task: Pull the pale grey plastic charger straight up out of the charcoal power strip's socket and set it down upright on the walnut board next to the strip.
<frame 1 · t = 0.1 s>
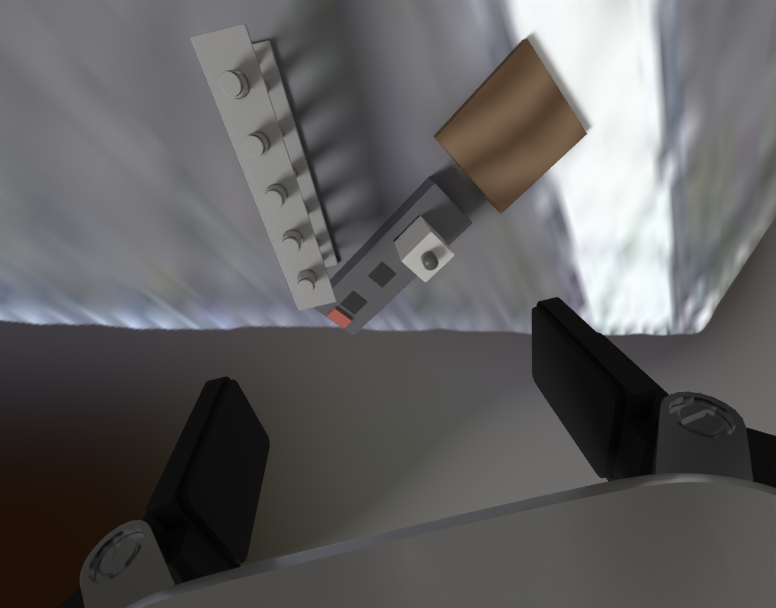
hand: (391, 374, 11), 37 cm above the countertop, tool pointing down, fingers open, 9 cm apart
test tube rack: (291, 172, 43), on the countertop
charger: (414, 232, 47), point 1 cm above the countertop, touching power strip
power strip: (387, 256, 49), on the countertop
walnut board: (508, 134, 43), on the countertop
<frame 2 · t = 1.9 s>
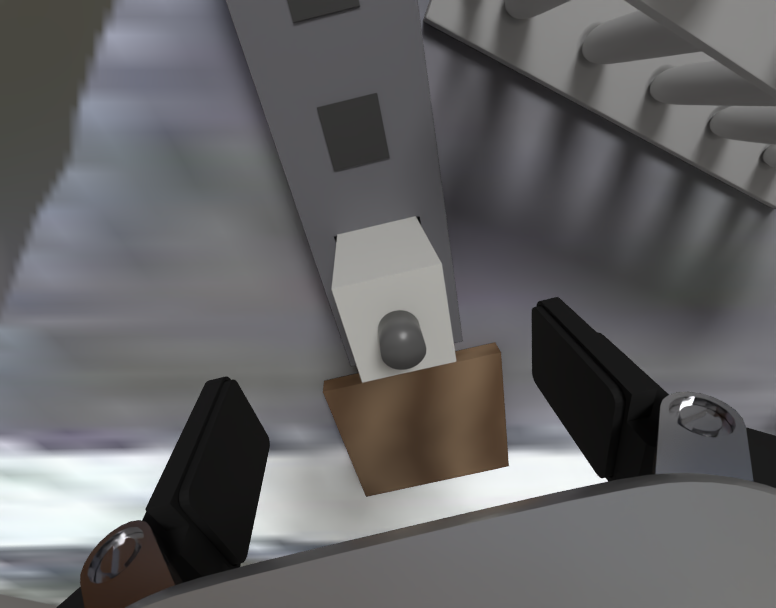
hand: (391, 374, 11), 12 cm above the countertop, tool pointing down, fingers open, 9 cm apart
test tube rack: (647, 86, 19), on the countertop
charger: (382, 249, 21), point 1 cm above the countertop, touching power strip
power strip: (361, 157, 20), on the countertop
walnut board: (423, 421, 30), on the countertop
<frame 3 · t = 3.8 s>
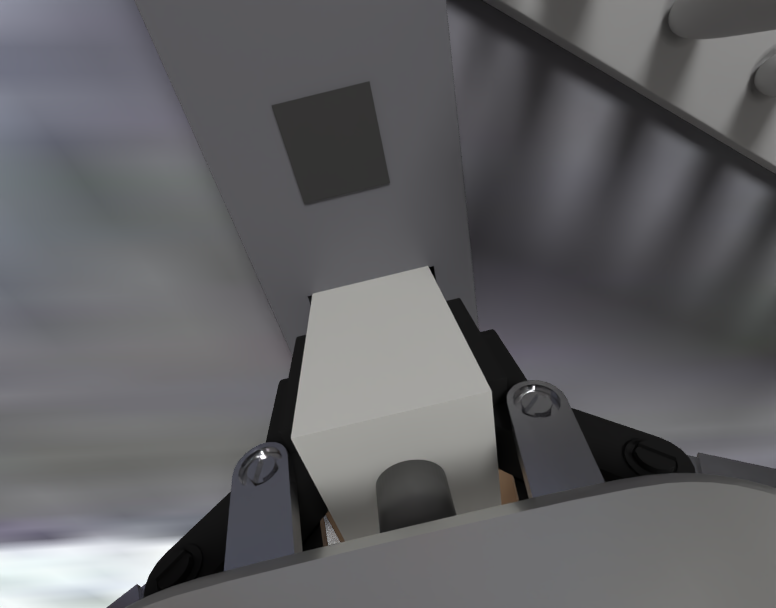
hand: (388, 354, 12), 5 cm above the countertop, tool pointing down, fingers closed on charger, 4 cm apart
test tube rack: (744, 75, 14), on the countertop
charger: (378, 300, 15), point 1 cm above the countertop, touching gripper, power strip
power strip: (347, 177, 14), on the countertop
walnut board: (429, 492, 24), on the countertop
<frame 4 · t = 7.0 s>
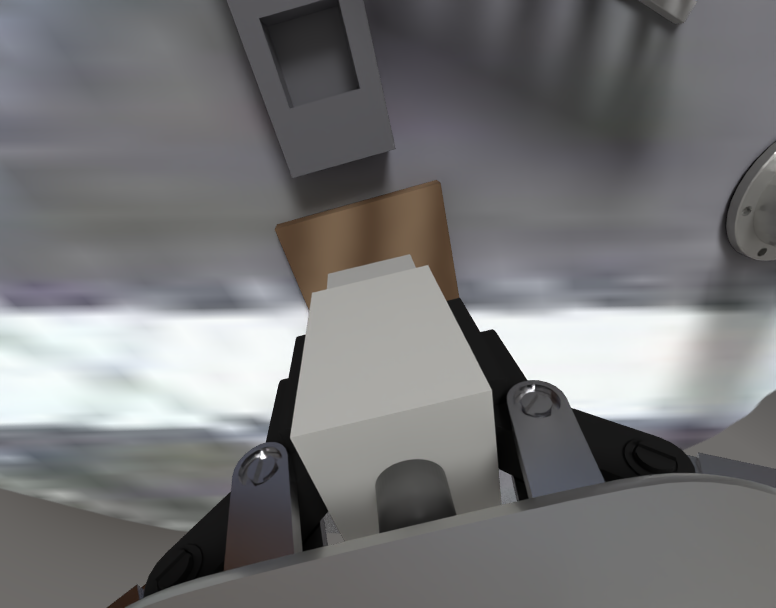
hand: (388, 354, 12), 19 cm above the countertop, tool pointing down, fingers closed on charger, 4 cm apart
charger: (378, 299, 15), point 15 cm above the countertop, touching gripper
walnut board: (377, 274, 32), on the countertop
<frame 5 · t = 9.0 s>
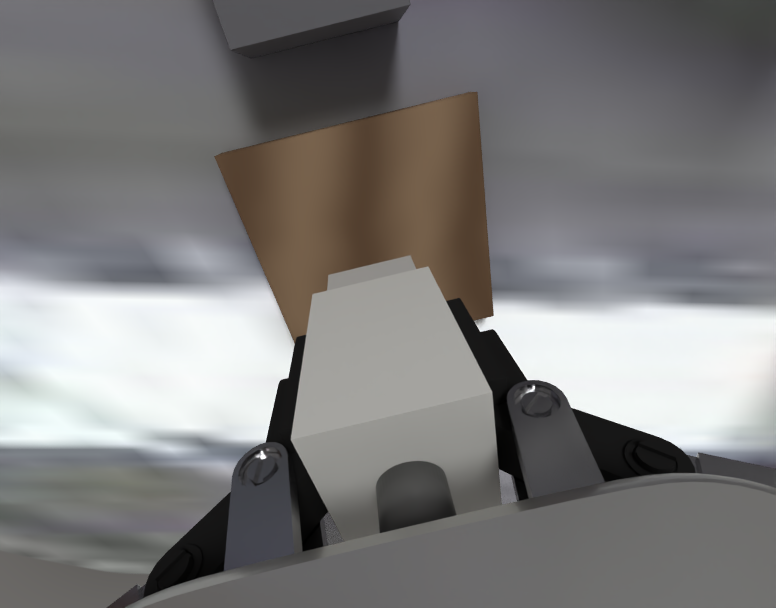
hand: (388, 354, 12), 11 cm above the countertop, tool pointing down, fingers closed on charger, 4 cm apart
charger: (378, 300, 15), point 7 cm above the countertop, touching gripper
walnut board: (373, 241, 22), on the countertop
when the fingers open (6 cm above the countertop, at t = 10.6 s): charger drops 1 cm, resting on walnut board.
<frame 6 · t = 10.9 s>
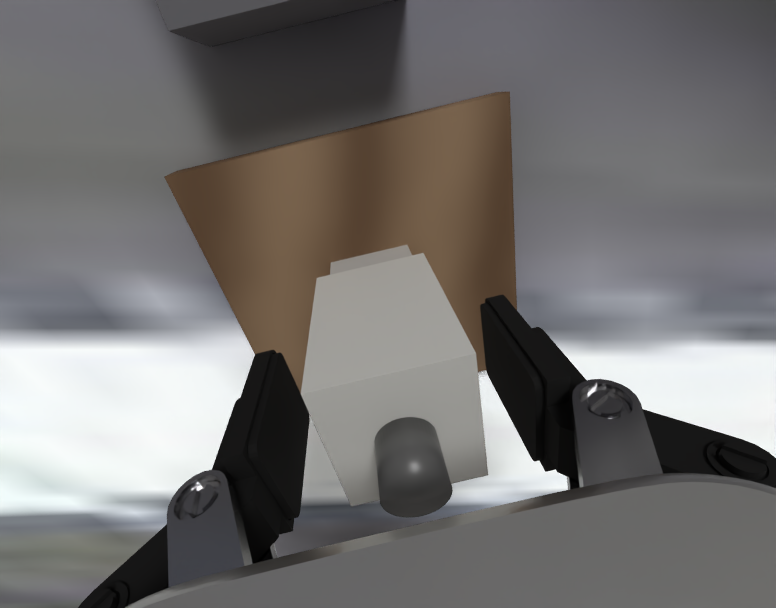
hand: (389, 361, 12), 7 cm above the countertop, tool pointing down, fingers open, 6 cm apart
charger: (377, 287, 17), point 1 cm above the countertop, touching walnut board
walnut board: (373, 276, 18), on the countertop
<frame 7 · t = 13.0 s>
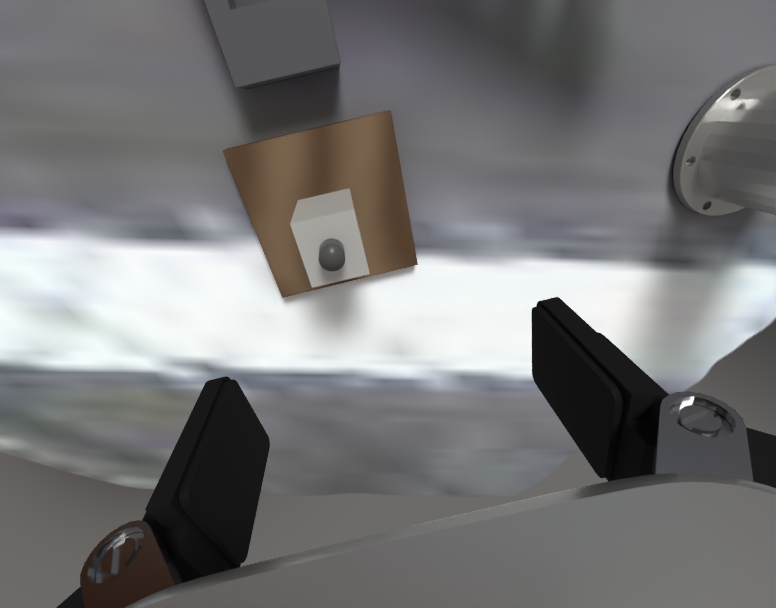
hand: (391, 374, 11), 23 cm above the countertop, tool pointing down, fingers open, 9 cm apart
charger: (331, 213, 31), point 1 cm above the countertop, touching walnut board
walnut board: (330, 210, 32), on the countertop
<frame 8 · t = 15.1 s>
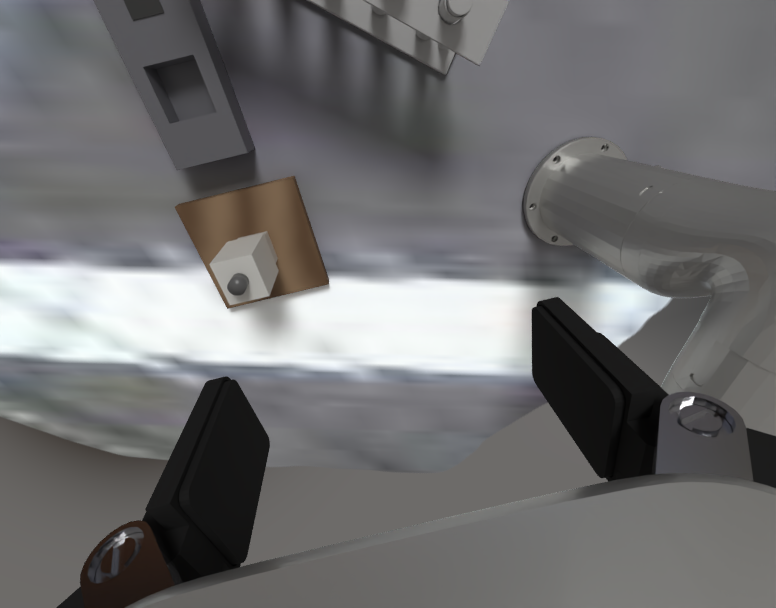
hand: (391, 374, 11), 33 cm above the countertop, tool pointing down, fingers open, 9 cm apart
charger: (258, 248, 42), point 1 cm above the countertop, touching walnut board
power strip: (168, 26, 32), on the countertop
walnut board: (259, 244, 43), on the countertop
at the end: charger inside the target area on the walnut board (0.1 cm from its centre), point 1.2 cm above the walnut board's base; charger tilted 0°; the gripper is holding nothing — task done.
